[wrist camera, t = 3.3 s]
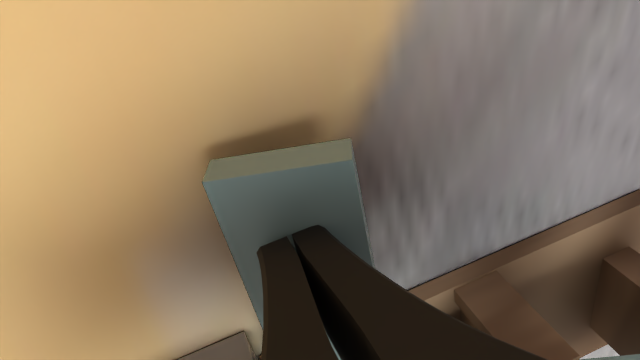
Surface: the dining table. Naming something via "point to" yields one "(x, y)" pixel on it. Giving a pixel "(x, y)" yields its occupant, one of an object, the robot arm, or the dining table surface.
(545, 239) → the base
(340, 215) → the lever
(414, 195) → the dining table surface
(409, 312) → the robot arm
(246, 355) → the tray
